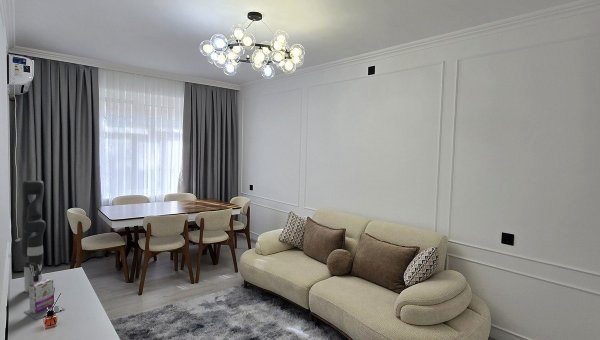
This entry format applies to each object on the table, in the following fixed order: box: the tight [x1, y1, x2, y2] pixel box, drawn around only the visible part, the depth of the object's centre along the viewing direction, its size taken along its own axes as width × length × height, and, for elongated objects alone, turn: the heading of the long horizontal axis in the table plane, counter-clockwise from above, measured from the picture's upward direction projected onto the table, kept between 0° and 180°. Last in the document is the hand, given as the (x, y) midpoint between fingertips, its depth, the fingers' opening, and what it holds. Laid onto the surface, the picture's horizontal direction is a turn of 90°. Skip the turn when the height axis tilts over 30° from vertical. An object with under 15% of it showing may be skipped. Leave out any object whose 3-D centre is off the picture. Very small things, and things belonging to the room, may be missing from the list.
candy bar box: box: [28, 278, 55, 313], centre depth 195 cm, size 11×5×16 cm, turn 166°
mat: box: [24, 305, 65, 321], centre depth 194 cm, size 16×14×1 cm
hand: (35, 281), depth 199 cm, fingers closed
